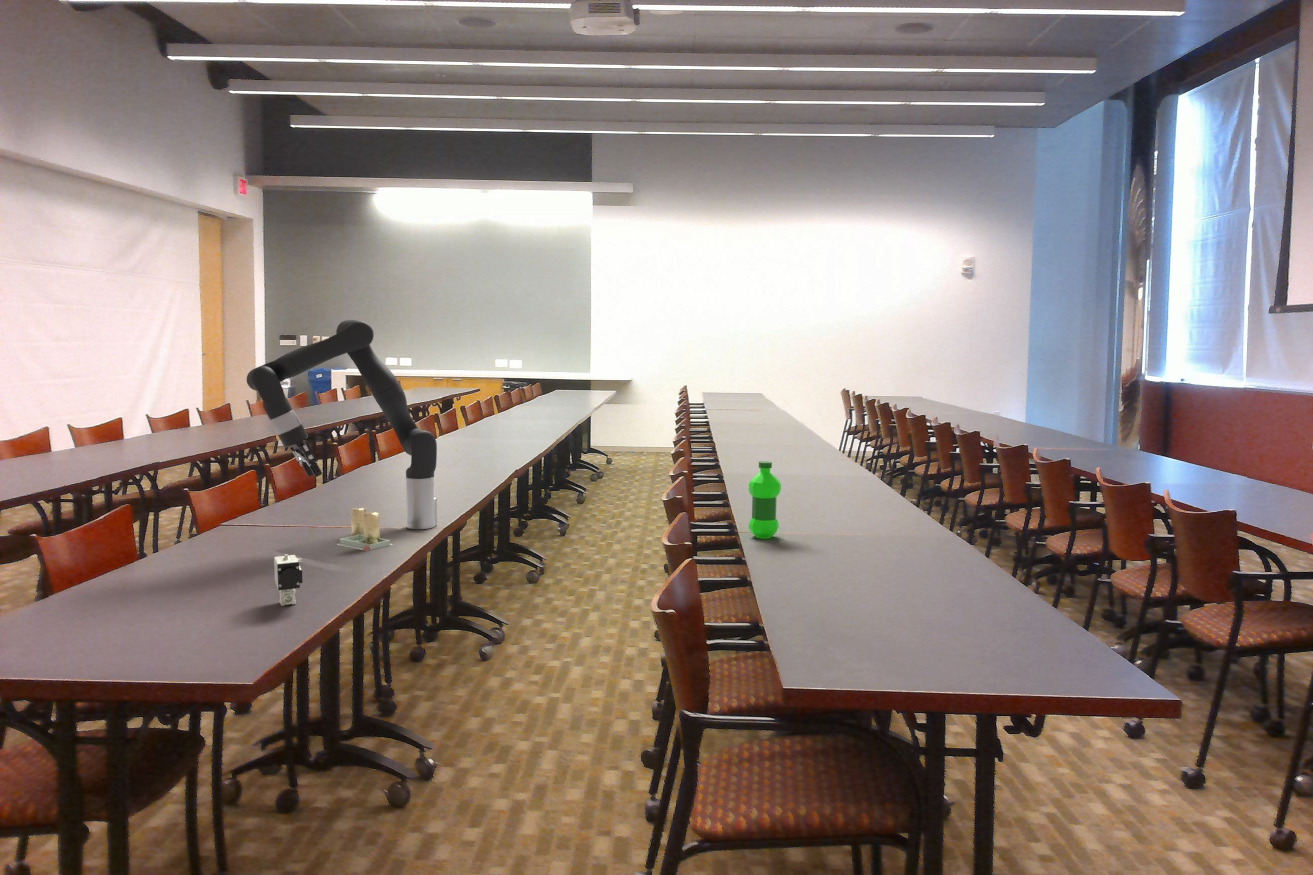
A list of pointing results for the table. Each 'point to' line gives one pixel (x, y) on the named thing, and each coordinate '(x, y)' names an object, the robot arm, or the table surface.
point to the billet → (357, 521)
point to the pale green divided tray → (362, 543)
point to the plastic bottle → (764, 502)
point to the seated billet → (371, 527)
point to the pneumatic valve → (287, 577)
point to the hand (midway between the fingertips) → (315, 475)
